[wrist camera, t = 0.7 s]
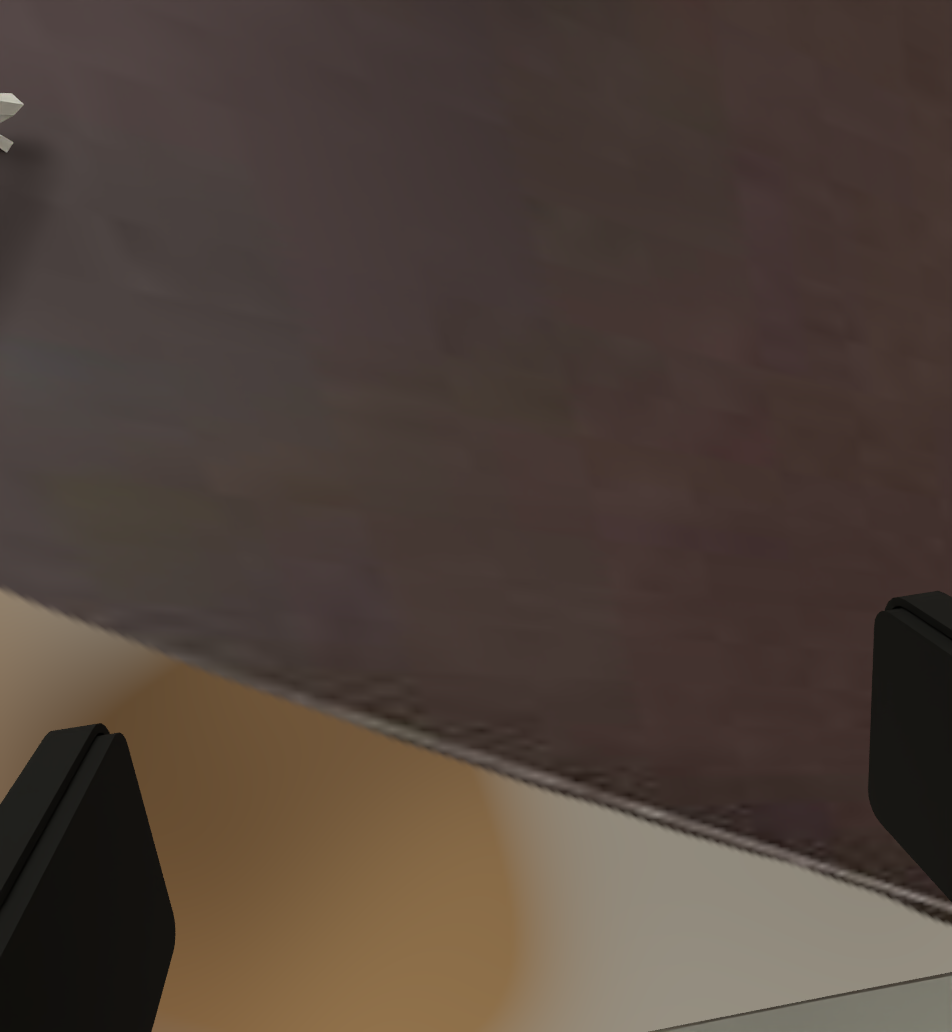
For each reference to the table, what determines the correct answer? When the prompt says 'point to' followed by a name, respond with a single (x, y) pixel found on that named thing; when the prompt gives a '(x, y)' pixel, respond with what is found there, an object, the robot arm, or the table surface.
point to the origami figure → (8, 115)
